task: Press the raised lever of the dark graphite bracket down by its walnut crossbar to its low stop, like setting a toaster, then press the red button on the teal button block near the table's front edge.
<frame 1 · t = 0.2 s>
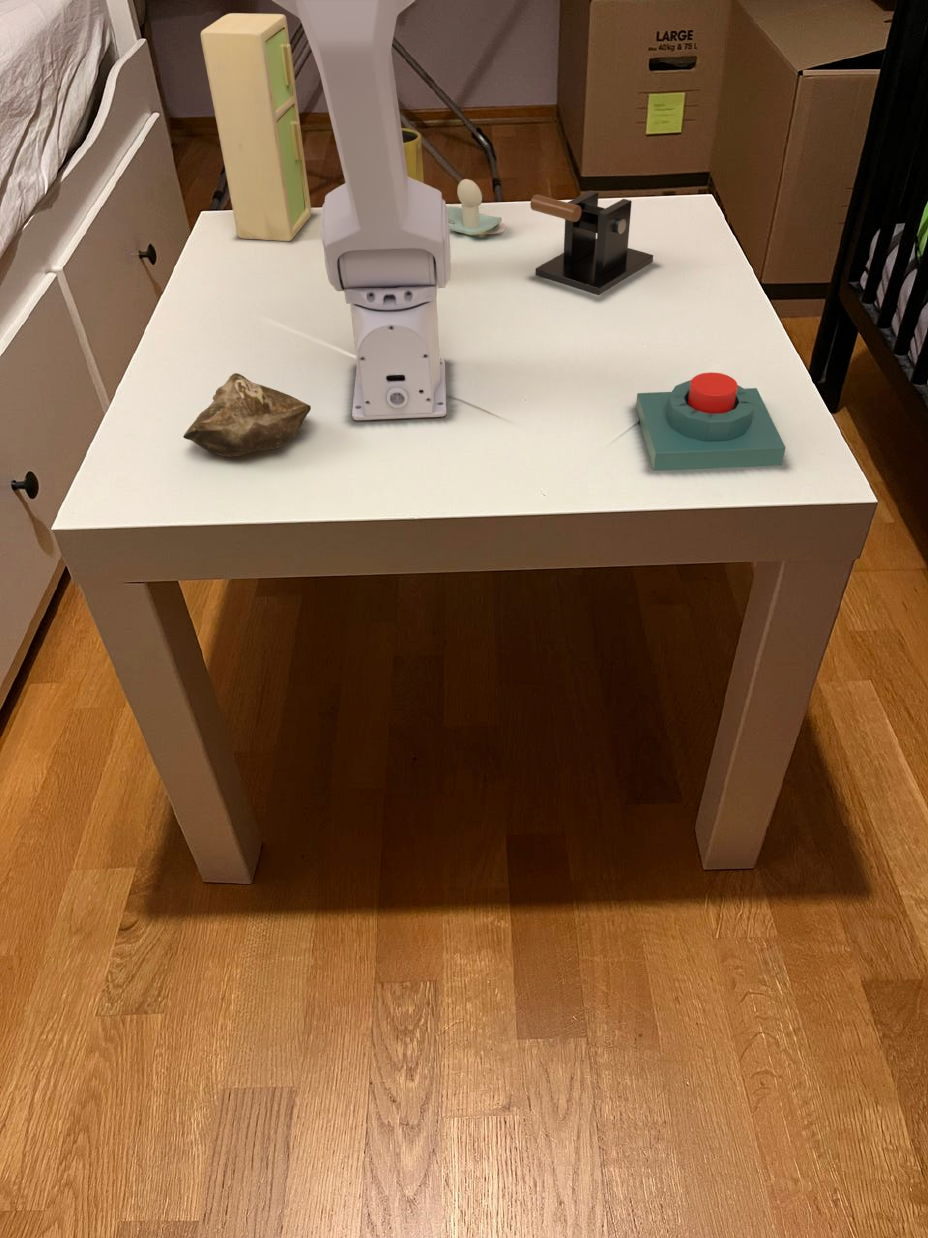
vase: (404, 282, 103), on the table
lever: (579, 214, 96), point 7 cm above the table, hinge at 25.0°
toy refrigerator: (279, 229, 114), on the table
bracket: (594, 272, 103), on the table
fossilized seashell: (254, 445, 81), on the table
button: (712, 393, 76), point 4 cm above the table, slide at 0.1 cm
button block: (705, 437, 79), on the table
pacifier: (476, 234, 111), on the table
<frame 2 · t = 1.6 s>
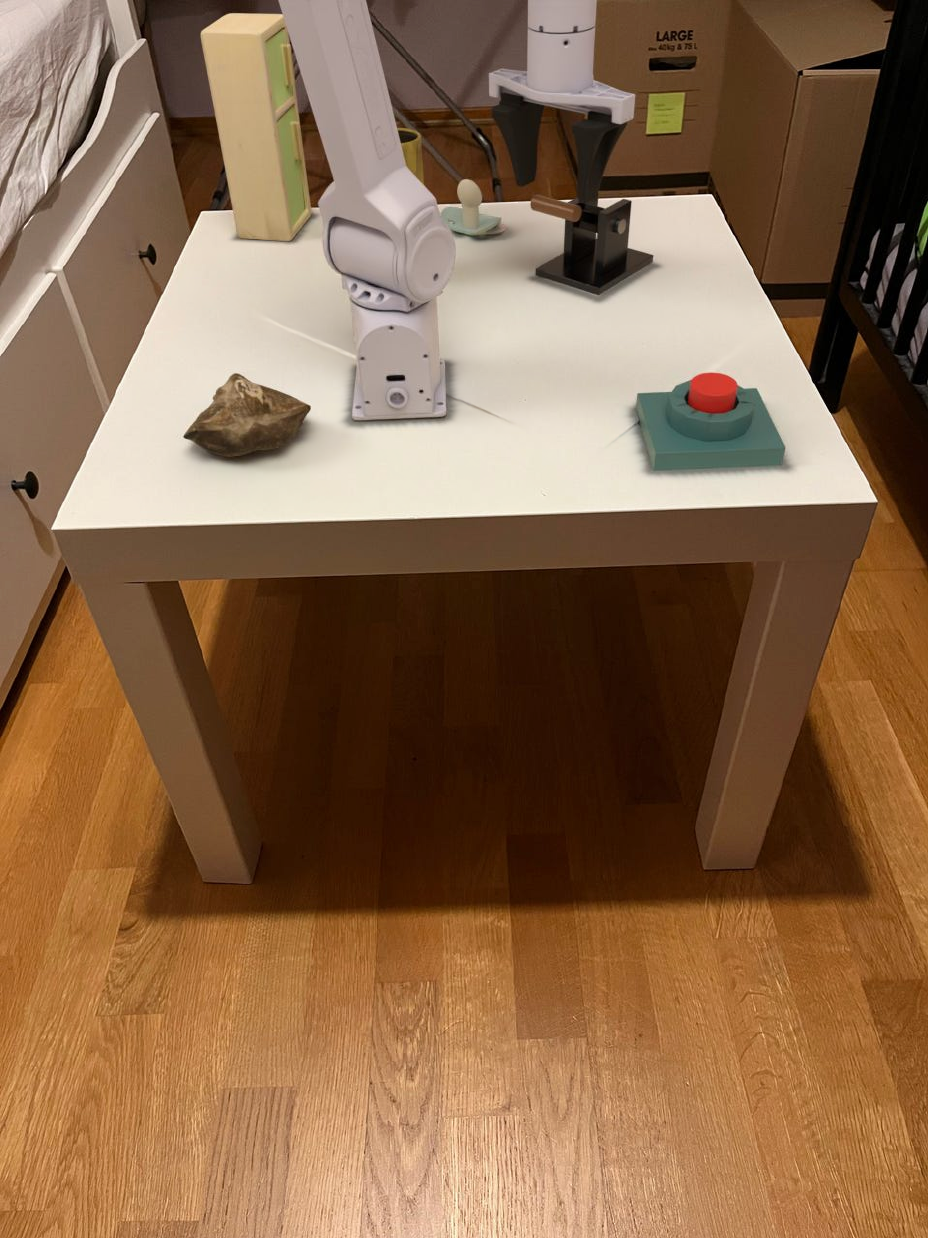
hand: (556, 191, 92), 10 cm above the table, tool pointing down, fingers open, 7 cm apart
nothing on the table moved.
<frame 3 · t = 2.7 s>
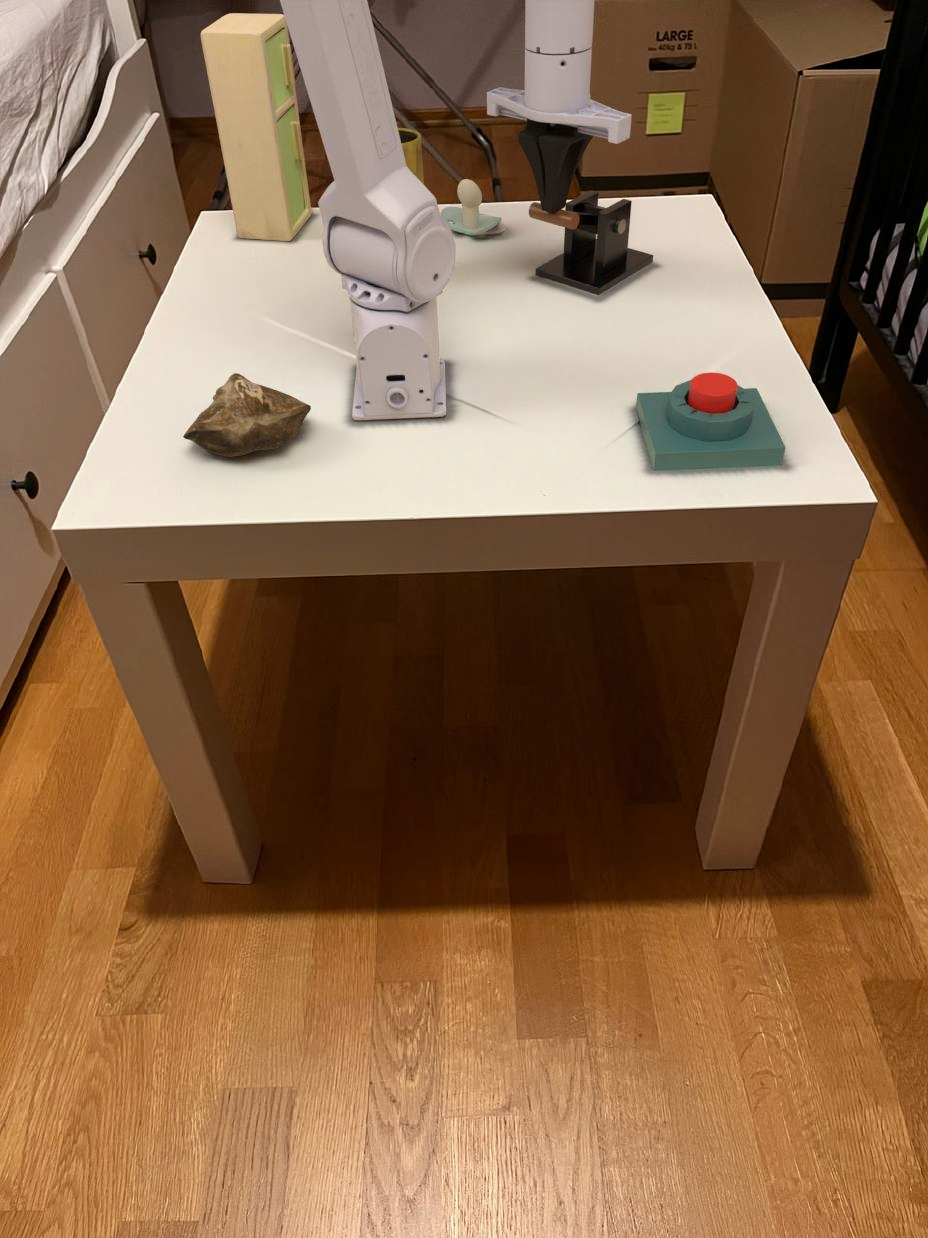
hand: (553, 208, 92), 9 cm above the table, tool pointing down, fingers closed, pressing on lever
lever: (578, 217, 96), point 7 cm above the table, hinge at 20.0°, touching gripper
everything else where it was.
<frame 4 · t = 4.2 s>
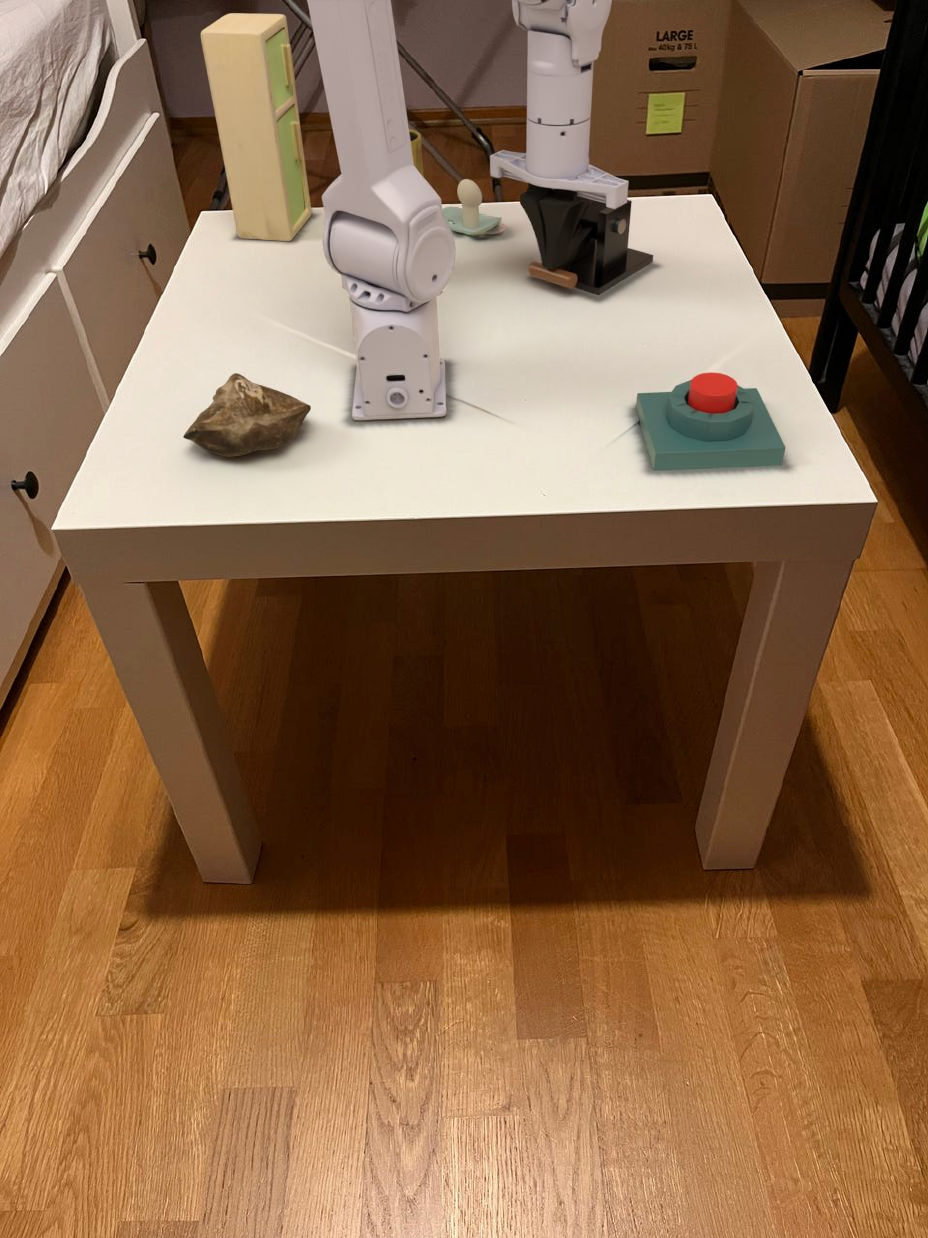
hand: (553, 264, 96), 3 cm above the table, tool pointing down, fingers closed, pressing on lever
lever: (577, 244, 98), point 4 cm above the table, hinge at -22.9°, touching gripper
everything else where it was.
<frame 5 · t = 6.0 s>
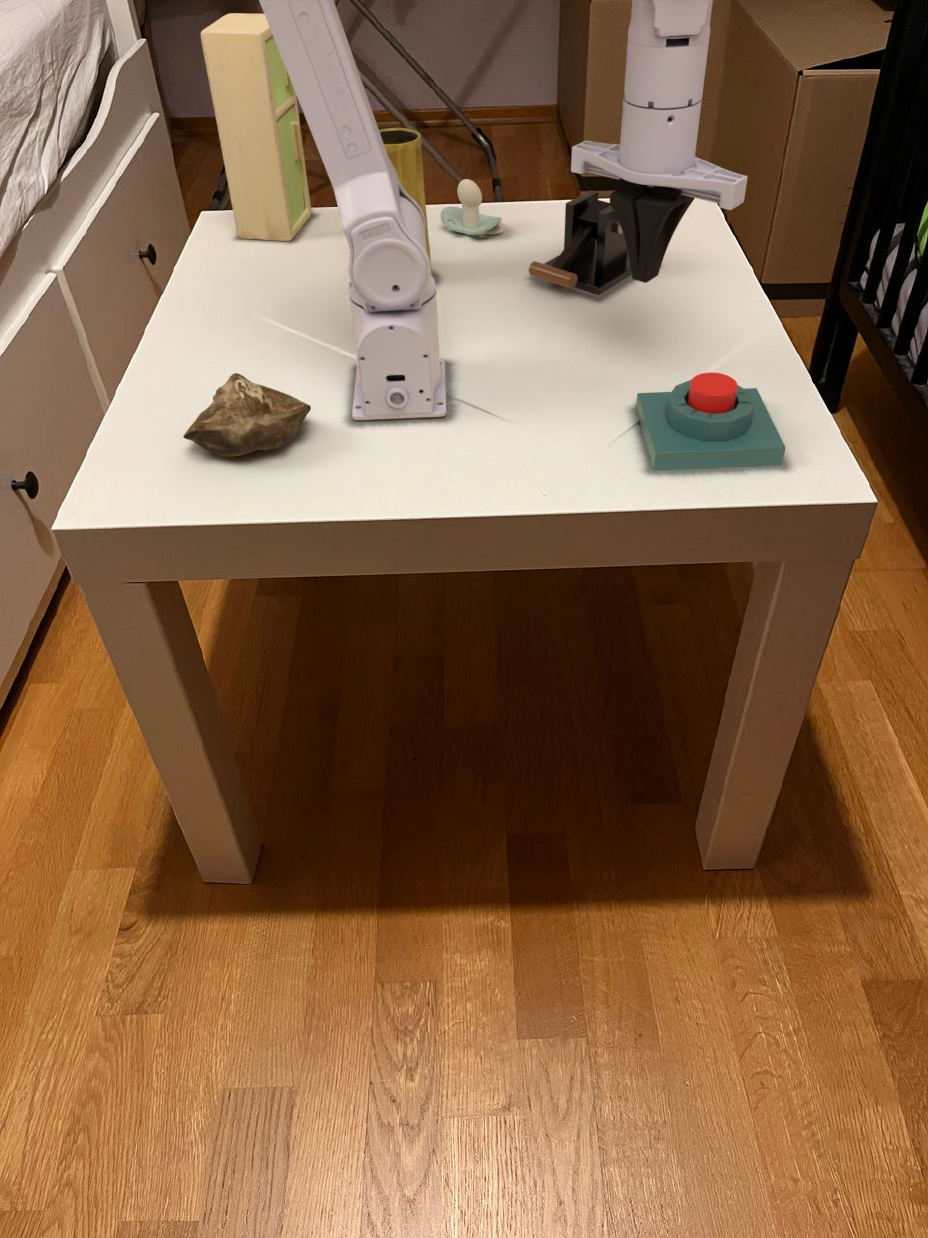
hand: (645, 276, 81), 9 cm above the table, tool pointing down, fingers closed
lever: (577, 244, 98), point 4 cm above the table, hinge at -22.9°
everything else where it was.
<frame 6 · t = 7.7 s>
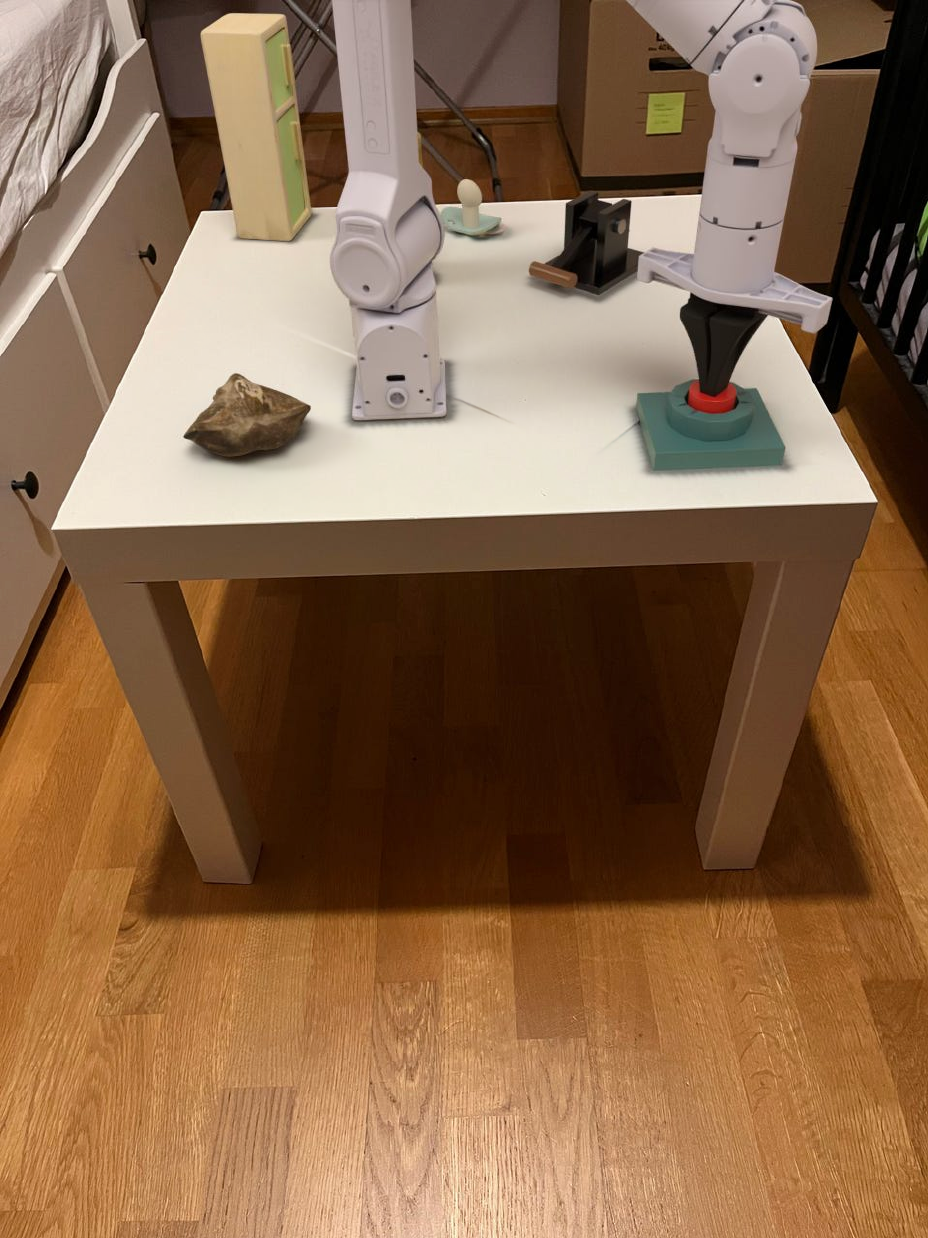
hand: (713, 389, 76), 4 cm above the table, tool pointing down, fingers closed, pressing on button
button: (711, 399, 77), point 3 cm above the table, slide at -0.4 cm, touching gripper
everything else where it was.
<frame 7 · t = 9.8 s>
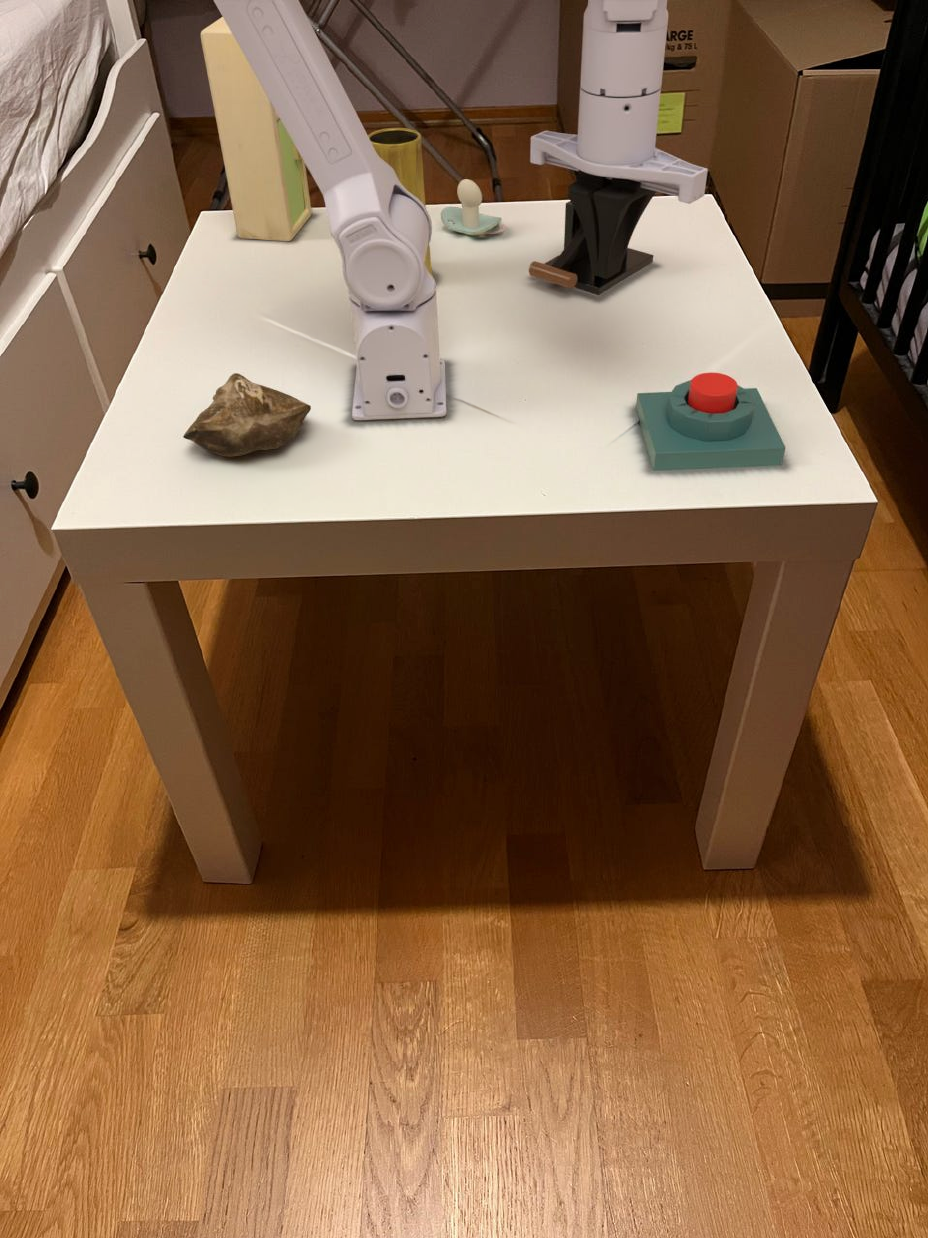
hand: (606, 272, 78), 10 cm above the table, tool pointing down, fingers closed
button: (712, 393, 76), point 4 cm above the table, slide at 0.1 cm
everything else where it was.
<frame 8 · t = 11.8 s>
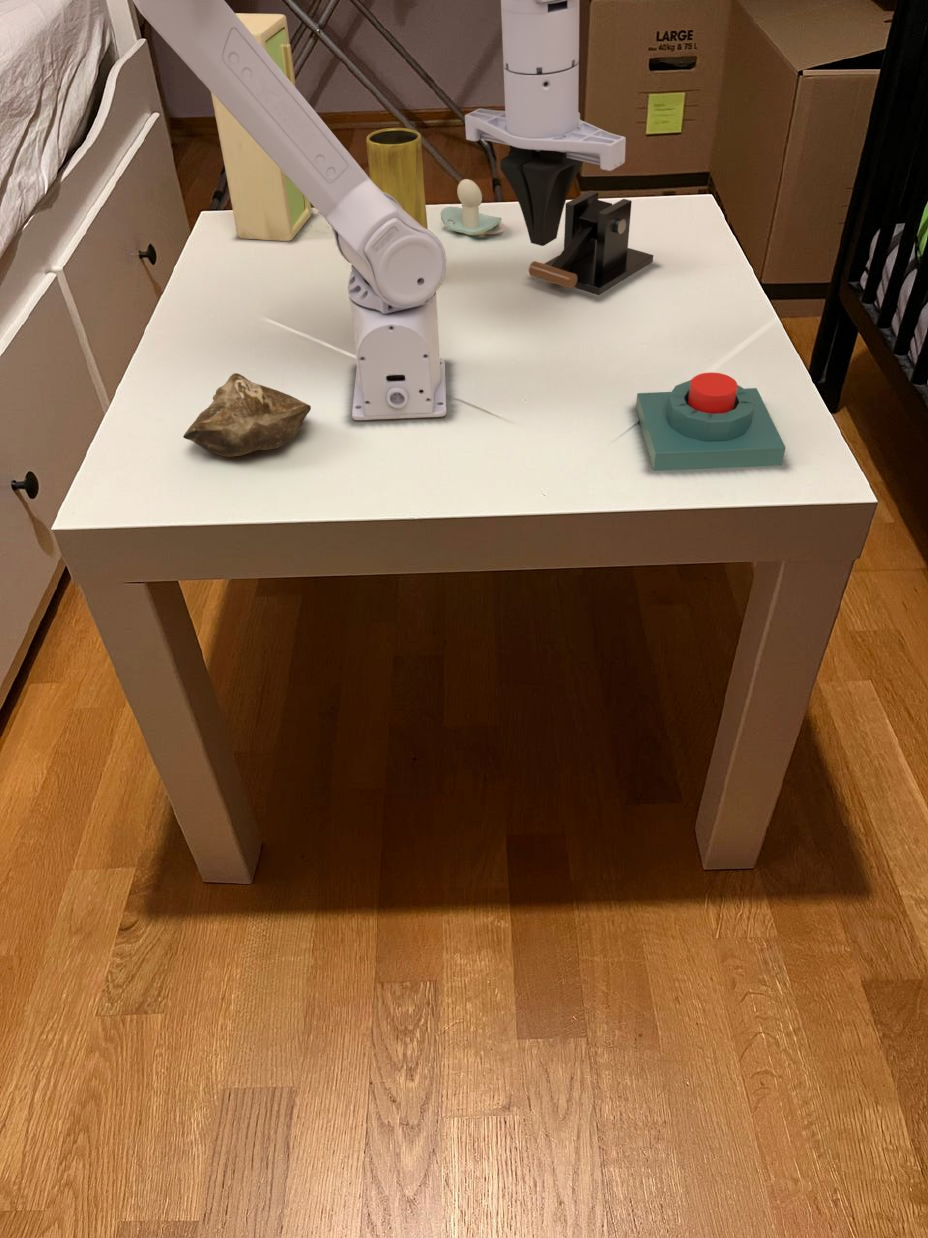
hand: (543, 240, 83), 10 cm above the table, tool pointing down, fingers closed
nothing on the table moved.
at the end: lever at -23° (first picture: +25°); button pushed in 1.2 cm at the most during the clip, back to where it started at the end; button slide at 0.1 cm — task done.
